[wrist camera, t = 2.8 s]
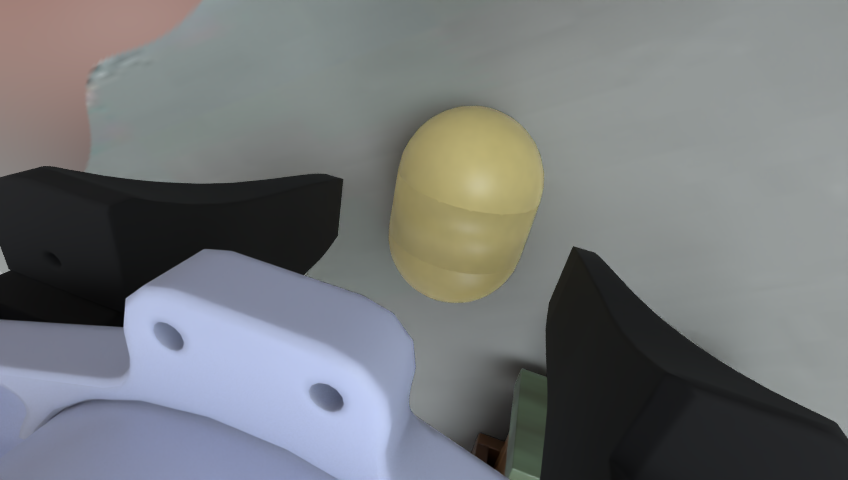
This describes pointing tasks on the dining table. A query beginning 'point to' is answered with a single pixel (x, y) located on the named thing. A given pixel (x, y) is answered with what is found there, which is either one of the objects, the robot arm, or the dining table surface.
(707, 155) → the dining table surface
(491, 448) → the cabinet
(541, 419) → the drawer
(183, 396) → the robot arm
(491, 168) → the pale yellow lobed ovoid
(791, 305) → the dining table surface
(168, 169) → the dining table surface
